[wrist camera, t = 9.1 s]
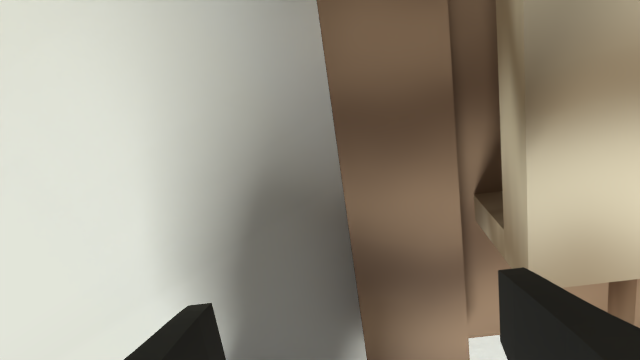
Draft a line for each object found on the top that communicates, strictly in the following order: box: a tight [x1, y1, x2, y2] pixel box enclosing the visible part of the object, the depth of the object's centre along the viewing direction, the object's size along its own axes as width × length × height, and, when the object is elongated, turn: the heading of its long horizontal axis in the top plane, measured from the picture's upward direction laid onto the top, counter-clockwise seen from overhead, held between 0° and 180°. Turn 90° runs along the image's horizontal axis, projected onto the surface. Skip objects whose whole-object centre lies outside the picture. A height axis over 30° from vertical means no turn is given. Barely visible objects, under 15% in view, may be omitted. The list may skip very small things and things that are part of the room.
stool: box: [474, 0, 640, 288], centre depth 16 cm, size 14×5×6 cm, turn 9°
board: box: [317, 0, 640, 360], centre depth 19 cm, size 22×16×3 cm
